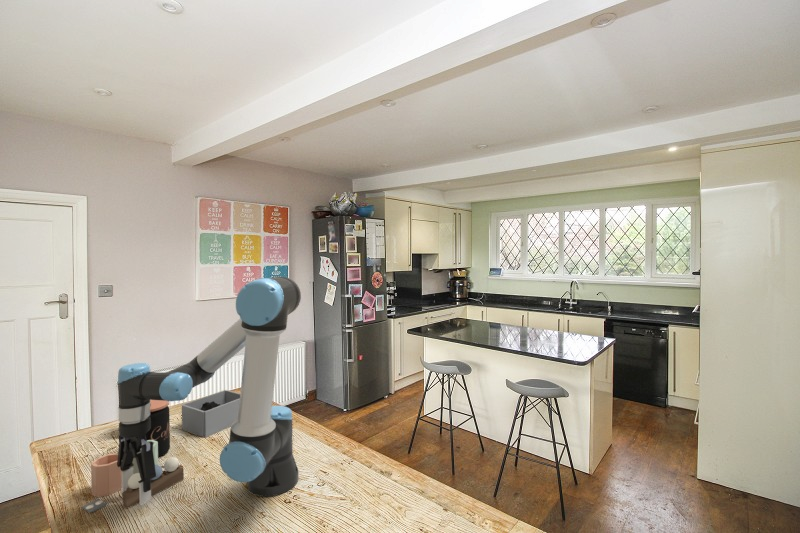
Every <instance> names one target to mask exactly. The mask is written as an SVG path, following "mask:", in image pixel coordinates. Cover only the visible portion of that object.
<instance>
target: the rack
mask: <svg viewBox="0 0 800 533" xmlns="http://www.w3.org/2000/svg"><path fill="white" fill-rule="evenodd" d="M184 479H185V478H184V467H183V466H182V465H180V464H179V465H178V467H177V468H176V469H175V470H174V471H172V472H168V471H166V470H165V469H164V470H162V474H161V476H160V477H159V478H157V479H155V480H151V497H153V496H155V495H157V494H159V493H161V492H162V491H164V490H166V489H168V488H171V487H172V486H175V485H176V484H179V482H182V481H183V480H184ZM137 504H140V501H139V488H137V489H131V488H126V491H124V492H123V494H122V506H123V507H124V508H126V509H129V508H132V507H134V506H135V505H137Z"/></svg>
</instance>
